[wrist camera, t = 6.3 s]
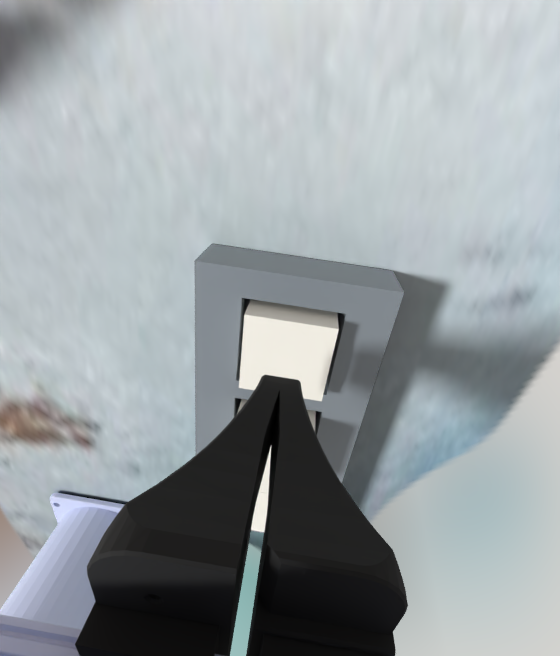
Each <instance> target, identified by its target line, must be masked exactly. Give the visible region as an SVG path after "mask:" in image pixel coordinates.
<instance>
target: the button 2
mask: <svg viewBox="0 0 560 656" xmlns="http://www.w3.org/2000/svg"><path fill="white" fill-rule="evenodd" d="M338 330H339V326H338V315H337V312H331V311H324V310H318V309H311V308H305V307H299V306H292V305H286V304H279V303H273V302H266V301H260V300H253V299H251V300H250V303H249V305H248V307H247V310H246V312H245V314H244V326H243V339H242V353H241V366H240V379H239V388H243V389H249V390H255V389H256V387H257V385H258V383H259V382H260V379H261V377H262V376H264V375H271V376H277V377H284V378H290V379H296V380H299V381H300V383H301V389H302V394H303V398H304V399H310V400H316V401H322V398H323V393H324V389H325V385H326V381H327V377H328V372H329V368H330V364H331V360H332V356H333V351H334V347H335V343H336V339H337V335H338Z"/></svg>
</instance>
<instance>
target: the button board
mask: <svg viewBox="0 0 560 656" xmlns="http://www.w3.org/2000/svg"><path fill="white" fill-rule="evenodd" d="M403 295H404V291H403V289H402V287H401V285H400V283H399V282H398V280H397V278H396V276H395V274H394V272H393V271H391V270H385V269H378V268H371V267H365V266H358V265H351V264H345V263H338V262H331V261H325V260H318V259H311V258H305V257H298V256H291V255H285V254H278V253H271V252H265V251H258V250H251V249H245V248H238V247H231V246H224V245H218V244H211V245H210V246H209V247H208V248H207V249H206V250H205V251H204V252H203V253H202V254H201V255H200V256H199V257H198V258H197V259H196V260H195V417H196V455H197V454H198V453H199V452H200V451H201V450H203V449H204V448H205V447H206V446H207V445H208V444H209V443H210V442H211V441H212V440H213V439H215V438H216V437H217V436H218V435H219V434H220V433H221V431H222V430H223V429H224V428H225V427H226V426H227V425H228V424H229V423H230V422H231V420H232V419H233V418H234V417H235V416H236V415H237V413H238V409H239V406H240V403H241V399H246V400H248V399H249V398H250V396H251V395H252V393H253V392H254V390H249V389H243V388H239V379H240V366H241V353H242V339H243V326H244V314H245V312H246V310H247V307H248V305H249V303H250V299H253V300H260V301H266V302H273V303H279V304H286V305H292V306H299V307H305V308H311V309H318V310H324V311H331V312H337V313H338V326H339V330H338V335H337V339H336V343H335V347H334V351H333V356H332V360H331V364H330V368H329V372H328V377H327V381H326V385H325V389H324V393H323V398H322V401H316V400H310V399H304V398H303V399H304V402H305V406H306V409H307V410H313V411H316V415H315V434H316V436H317V438H318V440H319V443H320V445H321V447H322V449H323V451H324V453H325V455H326V457H327V459H328V461H329V463H330V464H331V466H332V468H333V470H334V471H335V473H336V475H337V477H338V478H339V480H340V482H341V483H342V481H343V478H344V475H345V472H346V469H347V466H348V463H349V459H350V456H351V453H352V450H353V447H354V444H355V441H356V438H357V435H358V432H359V429H360V426H361V423H362V420H363V417H364V414H365V411H366V408H367V405H368V402H369V399H370V396H371V393H372V389H373V386H374V383H375V380H376V377H377V374H378V371H379V368H380V365H381V362H382V359H383V356H384V353H385V350H386V347H387V344H388V341H389V338H390V335H391V332H392V329H393V326H394V322H395V319H396V316H397V313H398V310H399V307H400V304H401V301H402V298H403ZM251 531H253V530H251ZM255 532H259V531H255ZM261 533H264V532H261Z"/></svg>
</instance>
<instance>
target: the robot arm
mask: <svg viewBox="0 0 560 656" xmlns="http://www.w3.org/2000/svg"><path fill="white" fill-rule="evenodd" d="M270 447H271V457H270V475H269V492H268V507H267V517H266V524H265V531H264V538H263V545H262V552H261V559H260V565H259V573H258V580H257V586H256V593H255V600H254V607H253V614H252V620H251V628H250V635H249V641H248V648H247V654H246V656H395V644H394V637H393V630H394V629H395V628H396V626H397V625H398V623H399V622H400V620H401V619H402V617H403V616H404V614H405V612H406V609H407V606H408V604H407V599H406V591H405V587H404V583H403V579H402V576H401V573H400V569H399V566H398V564H397V561H396V558H395V555H394V552H393V550H392V549H391V547H390V546H389V545H388V544H387V543H386V542H385V540H384V539H383V538H382V537H381V536H380V535H379V534H378V532H377V531H376V530H375V529H374V527H373V526H372V525H371V524H370V522H369V521H368V520H367V519H366V517H365V516H364V515H363V513H362V512H361V511H360V509H359V508H358V507H357V505H356V504H355V502H354V501H353V499H352V498H351V496H350V495H349V493H348V492H347V490H346V489H345V488H344V486H343V485H342V483H341V482H340V480H339V478H338V477H337V475H336V473H335V471H334V470H333V468H332V466H331V464H330V463H329V461H328V459H327V457H326V455H325V453H324V451H323V449H322V447H321V445H320V443H319V440H318V438H317V436H316V434H315V431H314V429H313V426H312V423H311V421H310V418H309V415H308V412H307V409H306V406H305V402H304V399H303V394H302V389H301V383H300V381H299V380H296V379H290V378H284V377H277V376H271V375H264V376H262V377H261V379H260V382H259V383H258V385H257V387H256V389H255V390H254V392H253V393H252V395H251V396H250V398H249V399H248V400H247V402H246V403H245V404H244V406H243V407H242V408H241V410H240V411H239V412H238V413H237V415H236V416H235V417H234V418H233V419H232V420H231V422H230V423H229V424H228V425H227V426H226V427H225V428H224V429H223V430H222V431H221V433H220V434H219V435H218V436H217V437H216V438H215V439H213V440H212V441H211V442H210V443H209V444H208V445H207V446H206V447H205V448H204V449H203V450H201V451H200V452H199V453H198V454H197V455H196V456H195V457H193V458H192V459H191V460H190V461H188V462H187V463H186V464H185V465H183V466H182V467H181V468H179V469H178V470H176V471H175V472H174V473H172V474H171V475H170V476H168V477H167V478H165V479H164V480H163V481H161V482H160V483H158V484H157V485H155V486H154V487H152V488H150V489H149V490H147V491H145V492H144V493H142V494H141V495H139V496H137V497H136V498H134V499H132V500H131V501H129V502H127V503H126V504H119V503H113V502H108V501H102V500H96V499H91V498H85V497H79V496H73V495H68V494H62V493H53V494H52V495H51V496H50V498H49V499H50V502H51V505H52V508H53V511H54V514H55V516H56V519H57V522H58V525H57V526H56V528H55V529H54V531H53V532H52V534H51V535H50V537H49V538H48V540H47V541H46V543H45V544H44V546H43V547H42V549H41V550H40V552H39V553H38V555H37V556H36V558H35V559H34V561H33V562H32V563H31V565H30V566H29V568H28V569H27V571H26V572H25V574H24V575H23V577H22V578H21V580H20V581H19V583H18V584H17V586H16V587H15V589H14V590H13V592H12V593H11V595H10V596H9V598H8V599H7V601H6V602H5V604H4V605H3V606H2V608H1V610H0V656H230V651H231V645H232V638H233V632H234V627H235V621H236V615H237V609H238V603H239V597H240V591H241V585H242V579H243V573H244V567H245V561H246V555H247V549H248V544H249V538H250V532H251V526H252V520H253V515H254V510H255V505H256V501H257V497H258V493H259V489H260V485H261V482H262V478H263V474H264V470H265V466H266V462H267V459H268V455H269V451H270Z"/></svg>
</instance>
